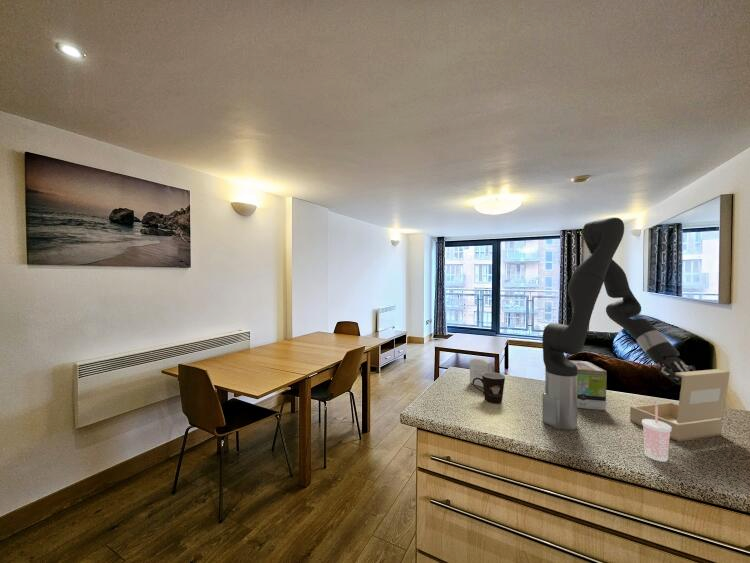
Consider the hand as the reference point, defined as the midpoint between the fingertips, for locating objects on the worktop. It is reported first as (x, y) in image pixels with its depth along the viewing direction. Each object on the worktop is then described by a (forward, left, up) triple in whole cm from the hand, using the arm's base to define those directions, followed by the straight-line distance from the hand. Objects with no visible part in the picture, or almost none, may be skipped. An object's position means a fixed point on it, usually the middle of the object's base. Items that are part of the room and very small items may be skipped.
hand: (700, 395), depth 96 cm
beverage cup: (-24, -5, -13) cm, 28 cm away
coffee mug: (-45, +41, -13) cm, 63 cm away
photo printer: (-39, +57, -13) cm, 71 cm away
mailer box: (0, +7, -13) cm, 15 cm away
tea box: (-10, +31, -13) cm, 35 cm away
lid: (0, +1, 0) cm, 1 cm away
